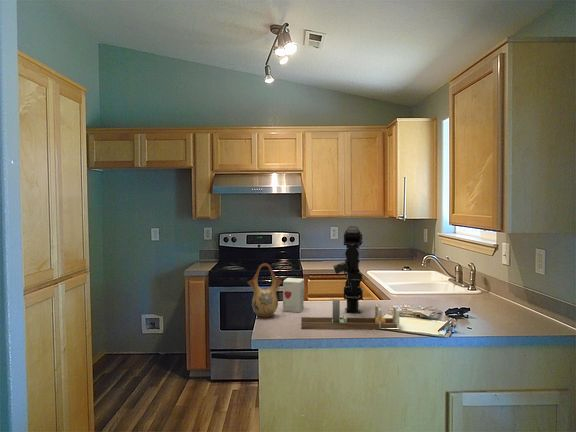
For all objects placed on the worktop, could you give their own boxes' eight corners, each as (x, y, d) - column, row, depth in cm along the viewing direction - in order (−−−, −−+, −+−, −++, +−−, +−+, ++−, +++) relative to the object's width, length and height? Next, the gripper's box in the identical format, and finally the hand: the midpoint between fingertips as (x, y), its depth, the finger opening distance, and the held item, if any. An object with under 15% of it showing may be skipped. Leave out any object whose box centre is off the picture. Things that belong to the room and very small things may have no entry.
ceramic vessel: (247, 319, 175) (247, 265, 174) (247, 314, 184) (247, 262, 183) (283, 318, 176) (283, 264, 175) (281, 313, 185) (281, 261, 184)
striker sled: (331, 323, 169) (331, 298, 168) (345, 323, 168) (345, 298, 168) (332, 327, 163) (332, 301, 163) (347, 328, 163) (347, 301, 162)
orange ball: (382, 313, 167) (385, 322, 167) (372, 317, 168) (376, 326, 168) (384, 316, 163) (388, 326, 163) (374, 320, 163) (378, 329, 163)
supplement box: (282, 311, 188) (282, 281, 188) (286, 306, 197) (286, 277, 196) (300, 312, 186) (300, 281, 186) (304, 307, 195) (304, 278, 194)
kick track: (301, 322, 171) (301, 303, 170) (394, 323, 169) (394, 304, 169) (301, 328, 162) (301, 308, 162) (399, 329, 161) (399, 309, 161)
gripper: (332, 254, 183) (332, 286, 184) (336, 260, 164) (336, 296, 165) (356, 254, 183) (356, 286, 183) (362, 260, 164) (362, 296, 165)
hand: (352, 291), depth 174 cm, fingers open, 9 cm apart
